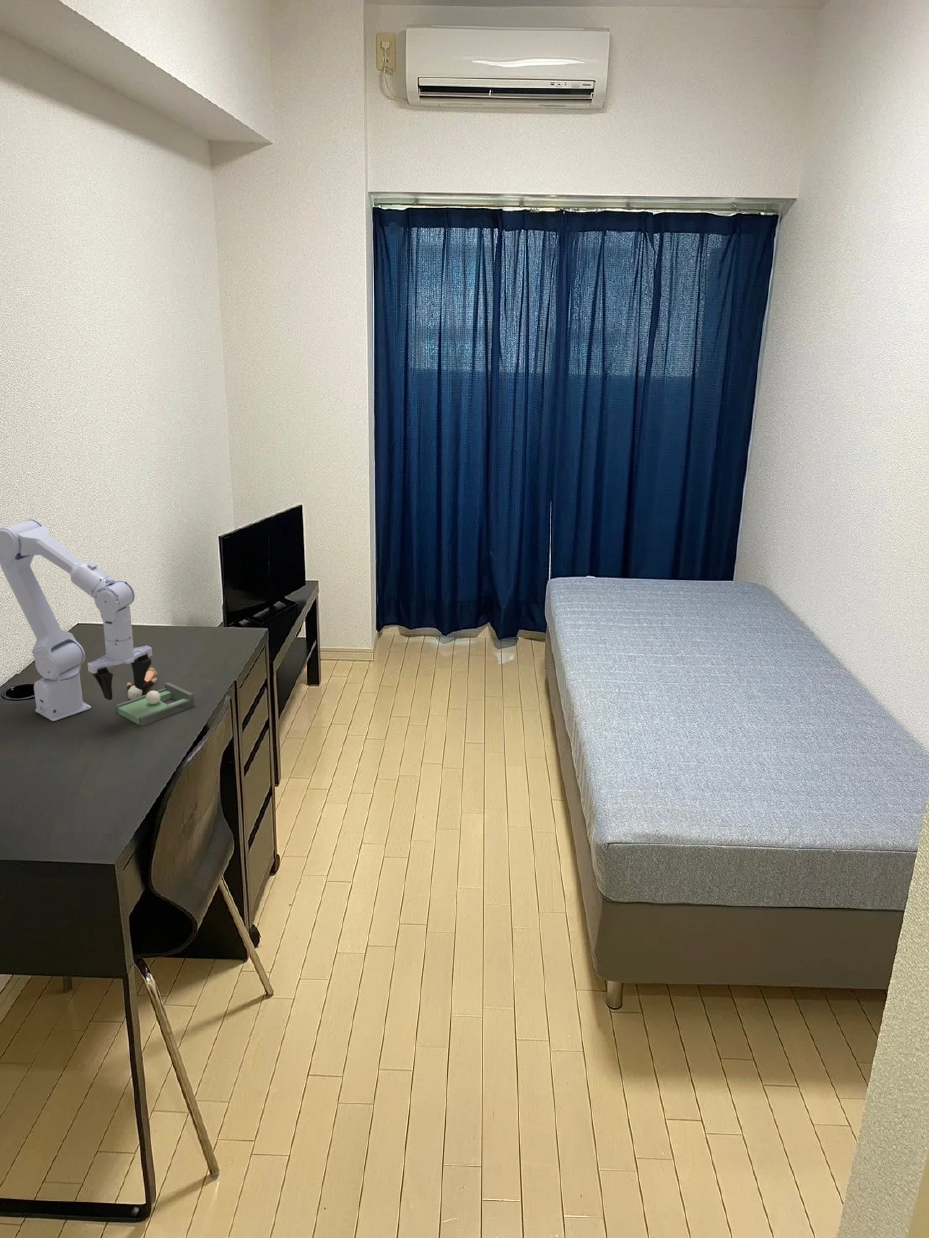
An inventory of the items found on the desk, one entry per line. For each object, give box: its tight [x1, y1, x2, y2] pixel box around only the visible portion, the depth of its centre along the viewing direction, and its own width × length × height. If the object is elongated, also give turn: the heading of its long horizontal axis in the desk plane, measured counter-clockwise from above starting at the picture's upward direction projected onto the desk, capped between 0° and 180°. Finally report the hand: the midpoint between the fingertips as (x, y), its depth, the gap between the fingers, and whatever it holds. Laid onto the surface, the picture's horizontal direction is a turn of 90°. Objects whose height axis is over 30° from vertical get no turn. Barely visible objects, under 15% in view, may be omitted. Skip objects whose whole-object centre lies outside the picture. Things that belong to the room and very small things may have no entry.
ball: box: [145, 690, 161, 704], centre depth 210 cm, size 3×3×3 cm
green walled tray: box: [115, 681, 195, 727], centre depth 210 cm, size 14×10×3 cm
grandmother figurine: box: [126, 667, 158, 700], centre depth 220 cm, size 8×4×13 cm
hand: (123, 693), depth 203 cm, fingers open, 7 cm apart
